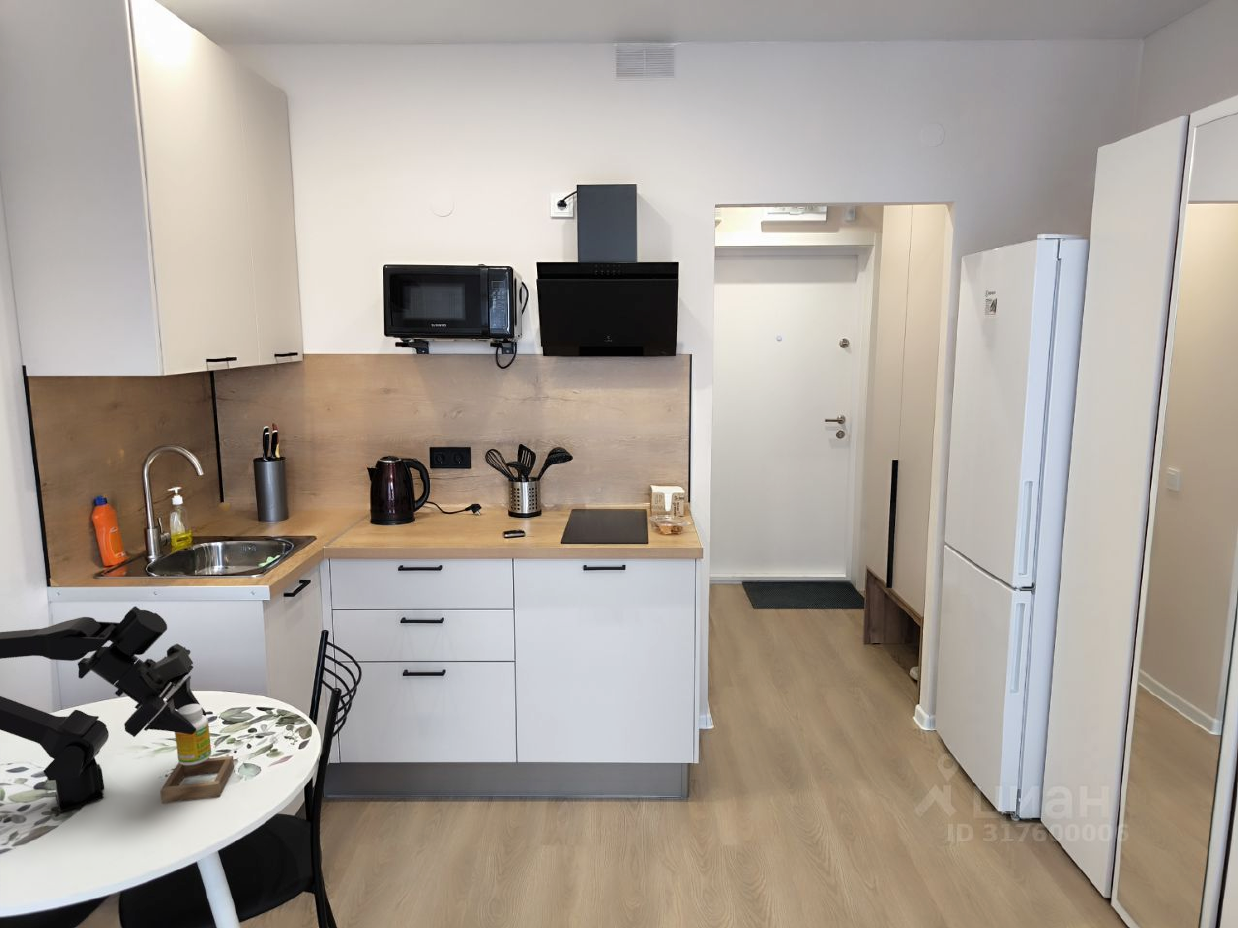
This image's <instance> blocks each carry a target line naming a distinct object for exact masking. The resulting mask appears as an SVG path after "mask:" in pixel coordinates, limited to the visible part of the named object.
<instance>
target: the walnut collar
mask: <svg viewBox="0 0 1238 928" xmlns="http://www.w3.org/2000/svg"><path fill="white" fill-rule="evenodd" d="M234 760H235V759H234V755H230V756H220V757H209V758H208V759H207V760H205V761H203V762H201V763H198V764H194V765H182V764H180V763H179V761H178V762H177V764H176V766H175V767H174V769H173V770H172V772H171V774H170V775H169V777H168V778H167V780H166V781H165V783H164V784H163V785H162V788H161V789H160V796H161V804H167V803H175V802H176V803H177V802H184V801H185V802H186V801H192V800H200V799H210V798H220V797H221V795H222V793H223V791H224V788H226V785H227V783H228V781H229V780H230V778H231V776H232V773H233V772H234V770H235V761H234ZM215 773H217V775H216V777H215V779H214V780H213V781H206V782H205V781H204V782H196V783H187V784H181V783H182V781H183V779H184V778H185V777H187V776H196V775H197V776H198V775H207V774H215Z"/></svg>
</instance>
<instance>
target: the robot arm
mask: <svg viewBox="0 0 1238 928" xmlns="http://www.w3.org/2000/svg"><path fill="white" fill-rule="evenodd" d="M167 630H168V624H167V622H166V621H165V619H164V618H163V617H162V616H161V615H160V614H158V613H157V612H152V611H151V610H147V609H140V608H139V607H137V606H133V607H132V608H131V609H129V610H128V611H127V613H126V614H125V615H124V617H123V619H122V620H121V621H120V622H115V621H113V622H112V621H110V622H109V621H98V620H96V619H95V618H93V617H89V616H82V617H77V618H74V619H69V620H65V621H61V622H59V623H56V624H54V625H50V626H46V627H43V628H33V629H21V630H20V629H19V630H8V631H7V630H6V631H0V660H1V659H11V658H23V657H34V656H35V657H43V658H46V659H48V660H52V661H54V660H55V661H67V662H68V661H70V662H73V661H74V662H75V661H78V662H77V666H78V675H77V676H78V678H79V679H83V678H85V676H87V675H88V674H89V673H90V672H93V673H95V674H96V675H97V676H98V677H100V678H102V680H104V681H106V683H109V684H110V685H111V686H113V687H114V688H116V689H117V690H116V691H115V692H114V694H115V695H116V696H117V697H121V696H122V695H123V694H124V695H125V696H127V697H129V698H130V699H131V700H133V701H134V702H136V703H137V704H136V705H135V706H134V708H135V709H136V710H134V712H133V713H132V714H131V715H130V716H129V717H128V719H127V720H126V721H125V722H124V724H123V726H124V731H125V732H126V733H128V734H129V735H130V736H131V737H133V738H135V737H136V736H138V734H139V733H140V732H141V731H142V730H143V731H146V732H147V731H148V730H153V731H165V732H174V733H175V732H179V733H186V734H193V733H194V732H195V731H196V728H195V727H194V726H193V725H192V724H191V723H190V722H189V721H188V720H187V719H185V718H184V717H183V716H182V715H181V714H180V713H179V712H177V711H178V709H179V708H181V707H183V706H186V705H189V704H200V702H199V701H198V699H197V698H196V696H195V695H194V693H193V691H192V690H191V679H192V676H191V675H189V673H191V671H192V670H193V669H194V666H193V664H194V662H193V660H192V659H191V657H190V654H191V650H190V649H187V648H186V647H185V646H182V645H180V644H179V643H176V644H173V645H171V646H170V647H169V648H168V649H167V650H166V655H165V656H164V657H162V659H160V660H158V661H155V660H154V659H153V658H147V659H145V660H144V661H143V660H142V659H140V658H139V657H138V656H141V655H144V654H146V652H147V651H148V650H149V649H150V648H151V647H152V646H153V645H154V644H155V643H156V642H157V641H158V640H159V639H160V638H161V637H162V635H164V633H166V631H167ZM109 641H110V642H111V644H110V645H108V646H104V645H106V644H107V643H108V642H109ZM92 652H93V653H92ZM89 653H92V654H91V655H90V657H85V656H87V655H88V654H89ZM79 660H80V661H79ZM187 675H189V676H188V677H187V678H186V679H184V678H185V676H187ZM165 699H166V700H165ZM200 705H201V704H200ZM202 711H203V714H202V715H204V716H206V717H207V711H205V709H204V708H203V707H202ZM99 717H100V716H97V715H89V714H88V713H85V712H84V711H82V710H79V709H74V710H73V711H72V712H71V713H70V714H69V715H68V716H67V715H66V716H59V715H58V716H57V715H54V714H52V713H48V712H46V711H43V710H40V709H38V708H34V707H32V706H29V705H26V704H24V703H20V702H18V701H16V700H12V699H10V698H8V697H4V696H2V695H0V731H2V732H6V733H8V734H10V735H13V736H17V737H18V738H23V739H25V740H28V741H31V742H33V743H35V744H39V746H41V748H43V750H44V751H45V752H46V754H47V755H48V756H49V757H50V758H52V761H51V762H50V763H49V764H48V766H46V768H45V769H44V770H43V773H44V775H45V777H46V778H47V780H48V781H50V782H51V781H52V782H53V781H54V786H55V793H56V794H55V800H56V803H57V806H58V811H59V812H60V813H64V812H66V811H69V810H72V809H75V808H78V807H81V806H85V805H87V804H90V803H94V802H96V801H99V800H102V799H103V798H104V794H103V791H104V790H105V782H104V777H103V770H102V767H101V764H99V763H97V761H96V758H95V757H96V756H97V755H99V754H100V752H101V749H102V748H103V747H104V746H105V744H106V743H107V741H108V740H109V737H110V735H109V730H108V727H107V724H105V723H104V722H103V721H101V720H99V719H100V718H99Z"/></svg>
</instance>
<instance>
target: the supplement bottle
mask: <svg viewBox="0 0 1238 928" xmlns="http://www.w3.org/2000/svg"><path fill="white" fill-rule="evenodd" d="M202 708H203V706H202V705H201V704H189V705H186V706H183V707H181V708H179V709H178V710H176V711H177V712H179V713H180V714H181V715H182V716H183V717H184V718H185V719H187V720H188V721H189V722H190V723H191V724H192V725H193V726H194V727H195V728H196V731H195V732H194V733H193V734H186V733H179V732H174V735H175V744H176V752H177V753H176V754H177V760H178V762H179V763H180V764H182V765H194V764H198V763H201V762H203V761H205V760H207V759H208V758H211V755H212V748H211V747H212V745H211V738H210V737H211V736H210V735H211V734H210V729H209V728H210V727H209V719H208V717H207V715H206V716H204V715H202V714H203V711H202Z"/></svg>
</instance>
